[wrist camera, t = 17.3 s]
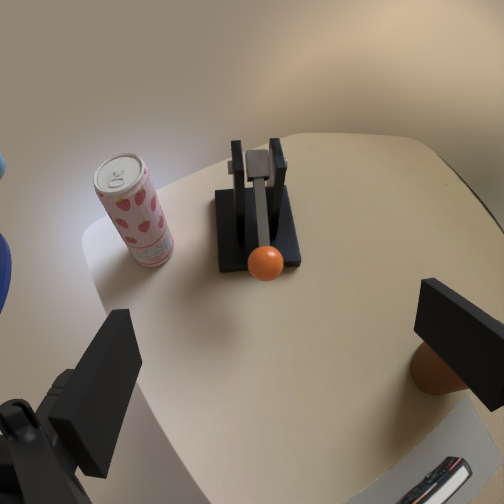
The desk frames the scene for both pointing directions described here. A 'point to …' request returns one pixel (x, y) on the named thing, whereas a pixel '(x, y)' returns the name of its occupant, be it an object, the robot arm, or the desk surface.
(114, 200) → the beverage can
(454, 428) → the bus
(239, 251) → the switch bracket
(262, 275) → the switch lever
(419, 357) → the mug
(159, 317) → the desk surface
